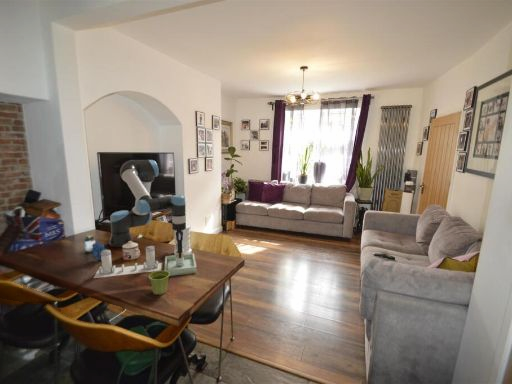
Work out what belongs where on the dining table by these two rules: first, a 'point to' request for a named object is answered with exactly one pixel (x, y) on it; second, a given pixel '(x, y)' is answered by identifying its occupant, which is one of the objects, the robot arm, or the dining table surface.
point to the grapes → (97, 250)
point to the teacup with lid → (130, 251)
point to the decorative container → (185, 240)
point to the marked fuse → (177, 255)
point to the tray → (185, 269)
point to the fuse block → (109, 271)
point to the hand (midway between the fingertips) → (180, 260)
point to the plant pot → (159, 281)
